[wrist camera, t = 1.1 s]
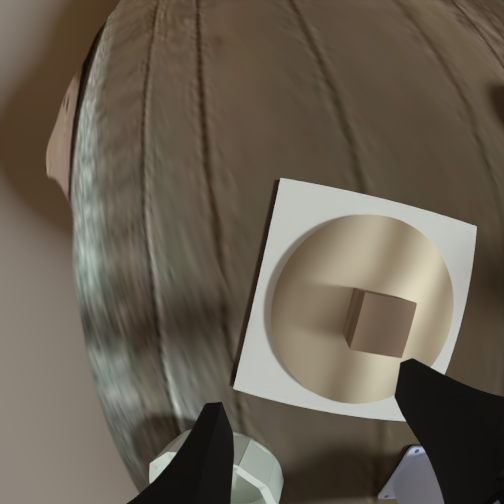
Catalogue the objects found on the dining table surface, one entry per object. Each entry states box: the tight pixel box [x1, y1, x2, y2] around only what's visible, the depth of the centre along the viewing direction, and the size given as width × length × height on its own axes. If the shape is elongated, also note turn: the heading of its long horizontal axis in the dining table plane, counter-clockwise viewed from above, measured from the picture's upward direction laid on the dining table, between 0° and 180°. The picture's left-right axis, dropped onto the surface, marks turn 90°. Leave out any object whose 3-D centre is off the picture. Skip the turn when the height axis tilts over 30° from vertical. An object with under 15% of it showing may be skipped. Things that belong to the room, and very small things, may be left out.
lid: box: [271, 214, 454, 404], centre depth 17 cm, size 15×15×5 cm
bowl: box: [149, 429, 284, 504], centre depth 19 cm, size 12×12×5 cm
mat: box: [233, 178, 477, 421], centre depth 20 cm, size 18×18×1 cm
